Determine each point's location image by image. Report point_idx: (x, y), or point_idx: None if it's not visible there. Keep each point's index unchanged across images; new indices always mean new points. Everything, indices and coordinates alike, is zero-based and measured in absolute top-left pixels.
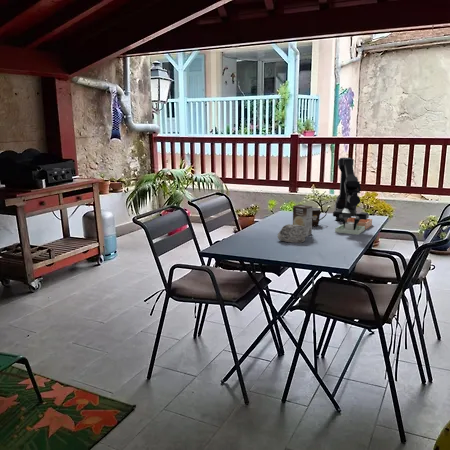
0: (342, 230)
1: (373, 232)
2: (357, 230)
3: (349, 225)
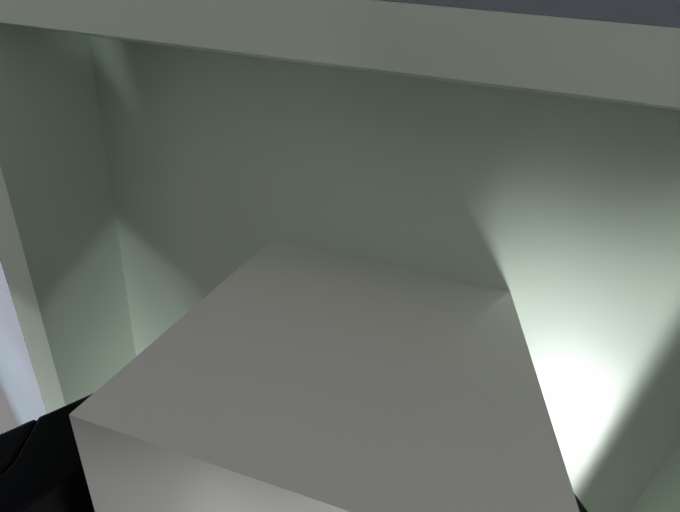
0: (650, 37)
1: (6, 365)
2: None
3: (301, 403)
